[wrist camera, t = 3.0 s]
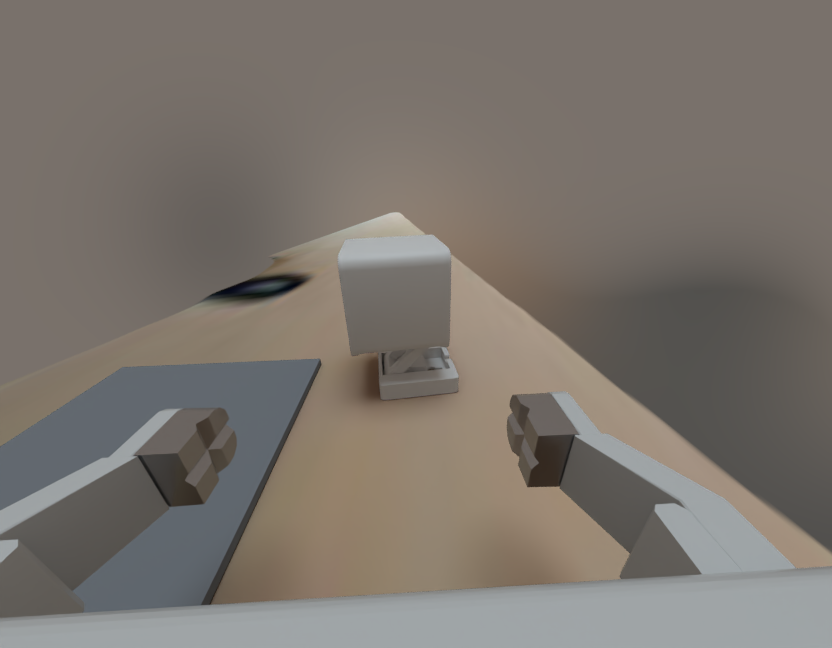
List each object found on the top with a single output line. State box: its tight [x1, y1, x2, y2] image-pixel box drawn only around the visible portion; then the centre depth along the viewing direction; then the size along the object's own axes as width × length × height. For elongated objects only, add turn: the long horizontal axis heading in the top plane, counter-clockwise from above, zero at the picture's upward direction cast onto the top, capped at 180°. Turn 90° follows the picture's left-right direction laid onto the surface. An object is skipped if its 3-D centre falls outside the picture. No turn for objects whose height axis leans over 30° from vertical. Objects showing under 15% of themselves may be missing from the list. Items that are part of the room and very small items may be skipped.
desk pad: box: [0, 359, 321, 613], centre depth 17 cm, size 16×16×1 cm
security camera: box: [338, 235, 459, 400], centre depth 20 cm, size 6×7×10 cm
